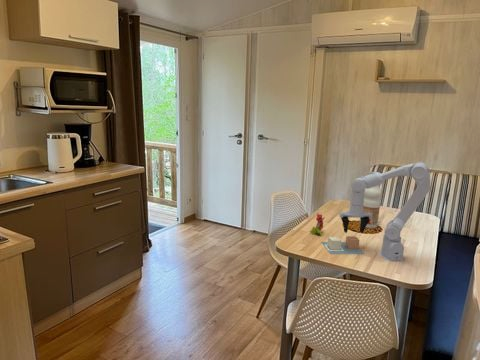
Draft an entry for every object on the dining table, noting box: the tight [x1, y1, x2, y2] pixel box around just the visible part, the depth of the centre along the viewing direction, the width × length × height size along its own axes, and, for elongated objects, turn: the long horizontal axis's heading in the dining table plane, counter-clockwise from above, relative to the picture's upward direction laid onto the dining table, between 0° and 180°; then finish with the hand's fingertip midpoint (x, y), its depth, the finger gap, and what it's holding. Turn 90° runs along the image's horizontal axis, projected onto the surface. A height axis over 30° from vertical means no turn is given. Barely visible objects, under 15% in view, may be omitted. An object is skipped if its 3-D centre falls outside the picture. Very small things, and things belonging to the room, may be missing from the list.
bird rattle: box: [309, 213, 326, 237], centre depth 185 cm, size 6×11×9 cm
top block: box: [345, 235, 360, 249], centre depth 168 cm, size 4×4×4 cm
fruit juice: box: [359, 185, 382, 230], centre depth 198 cm, size 9×9×28 cm
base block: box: [327, 236, 342, 250], centre depth 167 cm, size 4×4×4 cm
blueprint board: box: [320, 241, 365, 255], centre depth 168 cm, size 14×16×1 cm
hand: (353, 232), depth 167 cm, fingers open, 7 cm apart
